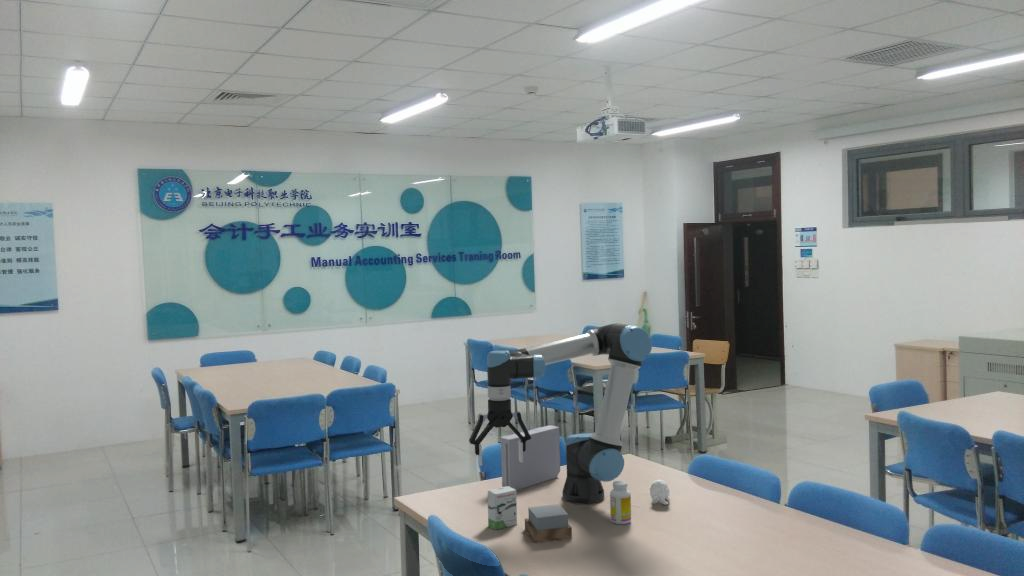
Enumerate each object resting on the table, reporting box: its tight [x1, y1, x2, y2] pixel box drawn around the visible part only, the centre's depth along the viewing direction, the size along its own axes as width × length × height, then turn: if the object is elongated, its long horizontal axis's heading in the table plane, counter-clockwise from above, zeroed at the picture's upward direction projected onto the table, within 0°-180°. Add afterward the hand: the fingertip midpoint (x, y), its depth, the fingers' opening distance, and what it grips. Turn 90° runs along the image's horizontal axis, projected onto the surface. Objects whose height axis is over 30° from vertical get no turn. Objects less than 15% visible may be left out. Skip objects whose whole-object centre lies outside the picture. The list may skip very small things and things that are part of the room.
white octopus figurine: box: [649, 479, 671, 506], centre depth 269 cm, size 6×8×12 cm
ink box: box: [487, 486, 518, 530], centre depth 249 cm, size 9×5×12 cm, turn 123°
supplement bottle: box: [609, 480, 632, 525], centre depth 249 cm, size 7×7×13 cm
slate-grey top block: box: [527, 503, 569, 531], centre depth 239 cm, size 10×10×4 cm
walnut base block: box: [524, 517, 573, 544], centre depth 240 cm, size 12×12×4 cm
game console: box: [500, 424, 561, 491], centre depth 294 cm, size 6×27×20 cm, turn 133°
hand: (500, 463), depth 248 cm, fingers open, 13 cm apart
